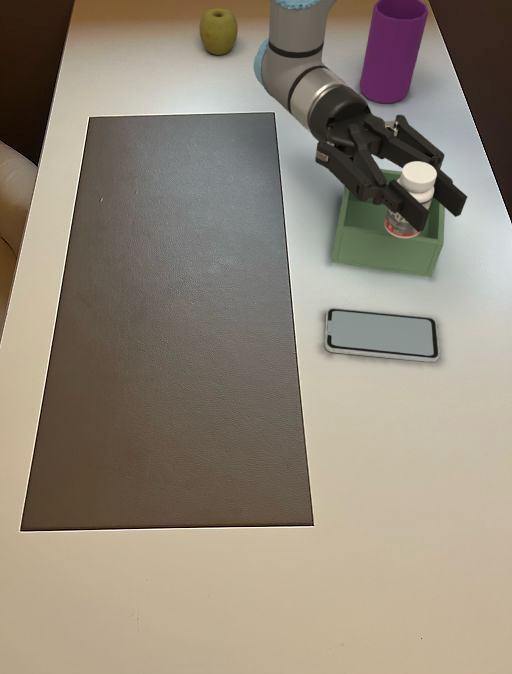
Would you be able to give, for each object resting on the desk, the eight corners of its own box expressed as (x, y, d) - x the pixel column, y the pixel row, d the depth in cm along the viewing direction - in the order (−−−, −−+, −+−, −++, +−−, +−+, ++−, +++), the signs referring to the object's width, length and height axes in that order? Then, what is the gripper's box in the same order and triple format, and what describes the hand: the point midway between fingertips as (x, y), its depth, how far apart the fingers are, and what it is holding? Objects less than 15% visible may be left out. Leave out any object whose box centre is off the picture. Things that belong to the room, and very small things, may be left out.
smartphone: (440, 360, 81) (325, 348, 82) (438, 364, 82) (324, 353, 83) (436, 317, 86) (326, 306, 86) (434, 321, 86) (325, 311, 87)
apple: (239, 41, 129) (240, 4, 123) (234, 62, 124) (234, 24, 118) (203, 39, 129) (202, 2, 124) (197, 59, 125) (195, 22, 119)
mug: (355, 101, 116) (370, 16, 104) (367, 58, 125) (383, -25, 112) (404, 108, 115) (426, 23, 102) (414, 65, 123) (434, -19, 111)
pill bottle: (376, 227, 80) (390, 171, 73) (398, 209, 81) (414, 153, 75) (406, 245, 78) (424, 190, 71) (428, 226, 80) (447, 171, 73)
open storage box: (434, 211, 99) (446, 177, 93) (430, 277, 91) (443, 243, 85) (342, 199, 101) (348, 164, 95) (330, 262, 93) (337, 228, 87)
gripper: (379, 118, 89) (491, 215, 77) (271, 155, 84) (373, 264, 73) (390, 66, 83) (513, 163, 71) (275, 103, 78) (386, 213, 67)
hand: (442, 214), depth 72 cm, fingers closed on pill bottle, 5 cm apart
